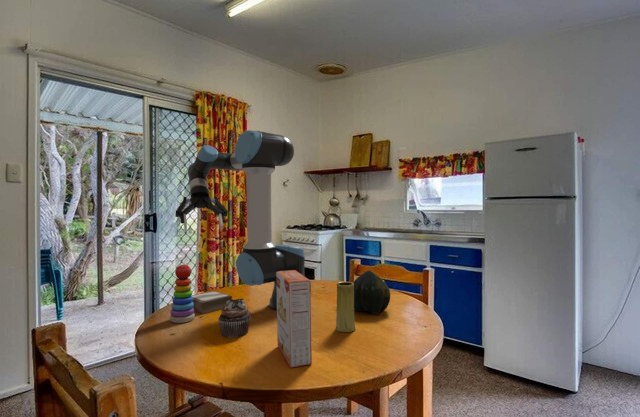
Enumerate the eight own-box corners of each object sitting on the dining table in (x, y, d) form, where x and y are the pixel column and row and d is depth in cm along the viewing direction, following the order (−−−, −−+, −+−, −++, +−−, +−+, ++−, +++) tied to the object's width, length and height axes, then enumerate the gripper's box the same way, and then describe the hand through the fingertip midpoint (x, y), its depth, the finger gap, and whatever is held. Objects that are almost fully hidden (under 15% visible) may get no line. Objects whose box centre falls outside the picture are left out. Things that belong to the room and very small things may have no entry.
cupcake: (216, 330, 111) (216, 298, 111) (247, 325, 115) (247, 294, 115) (220, 341, 102) (220, 306, 102) (254, 335, 106) (253, 302, 106)
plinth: (231, 306, 136) (231, 295, 136) (203, 313, 127) (203, 302, 127) (214, 300, 144) (214, 290, 144) (186, 307, 135) (186, 296, 135)
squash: (366, 305, 118) (384, 267, 125) (335, 298, 129) (353, 263, 136) (387, 326, 125) (403, 289, 132) (356, 318, 136) (372, 284, 143)
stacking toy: (186, 324, 116) (185, 267, 116) (164, 323, 118) (163, 266, 117) (199, 317, 124) (198, 263, 123) (178, 315, 125) (178, 262, 125)
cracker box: (275, 346, 98) (275, 270, 97) (297, 343, 100) (296, 269, 99) (288, 369, 85) (287, 281, 84) (312, 365, 86) (311, 279, 86)
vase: (357, 327, 113) (357, 282, 113) (352, 333, 107) (352, 286, 107) (338, 325, 115) (338, 280, 115) (333, 331, 109) (333, 285, 109)
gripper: (227, 197, 161) (234, 233, 148) (167, 197, 151) (169, 235, 137) (229, 185, 156) (237, 220, 143) (168, 184, 146) (169, 222, 132)
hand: (204, 228), depth 140 cm, fingers open, 13 cm apart
